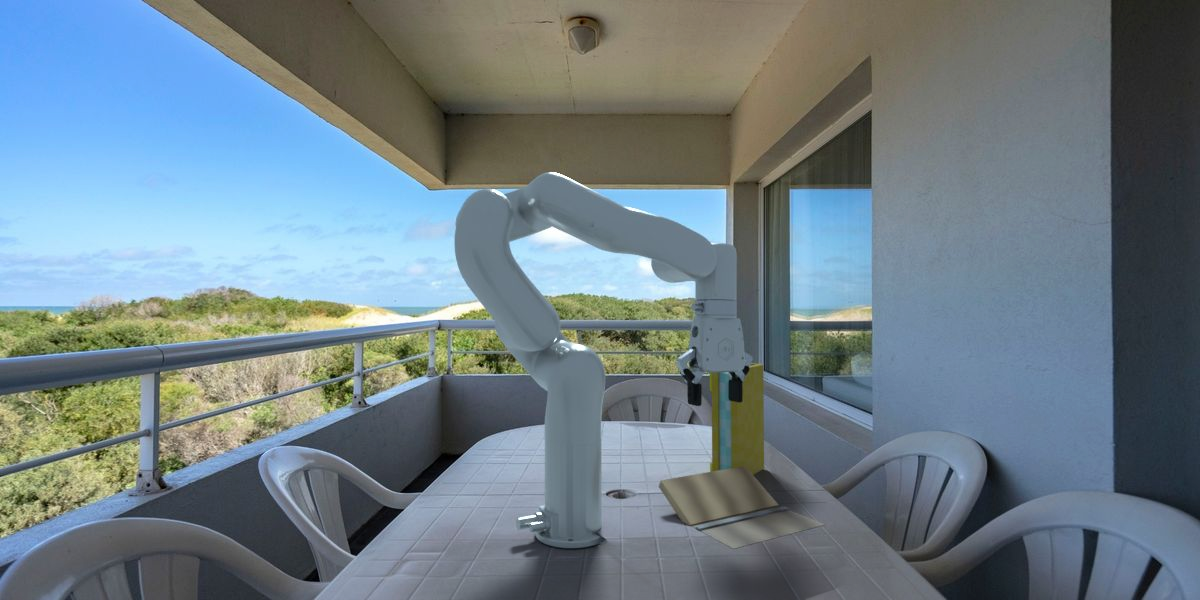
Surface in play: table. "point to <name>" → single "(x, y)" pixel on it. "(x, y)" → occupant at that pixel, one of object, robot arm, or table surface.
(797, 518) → the laid plank
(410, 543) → the table surface
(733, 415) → the book
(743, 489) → the board
